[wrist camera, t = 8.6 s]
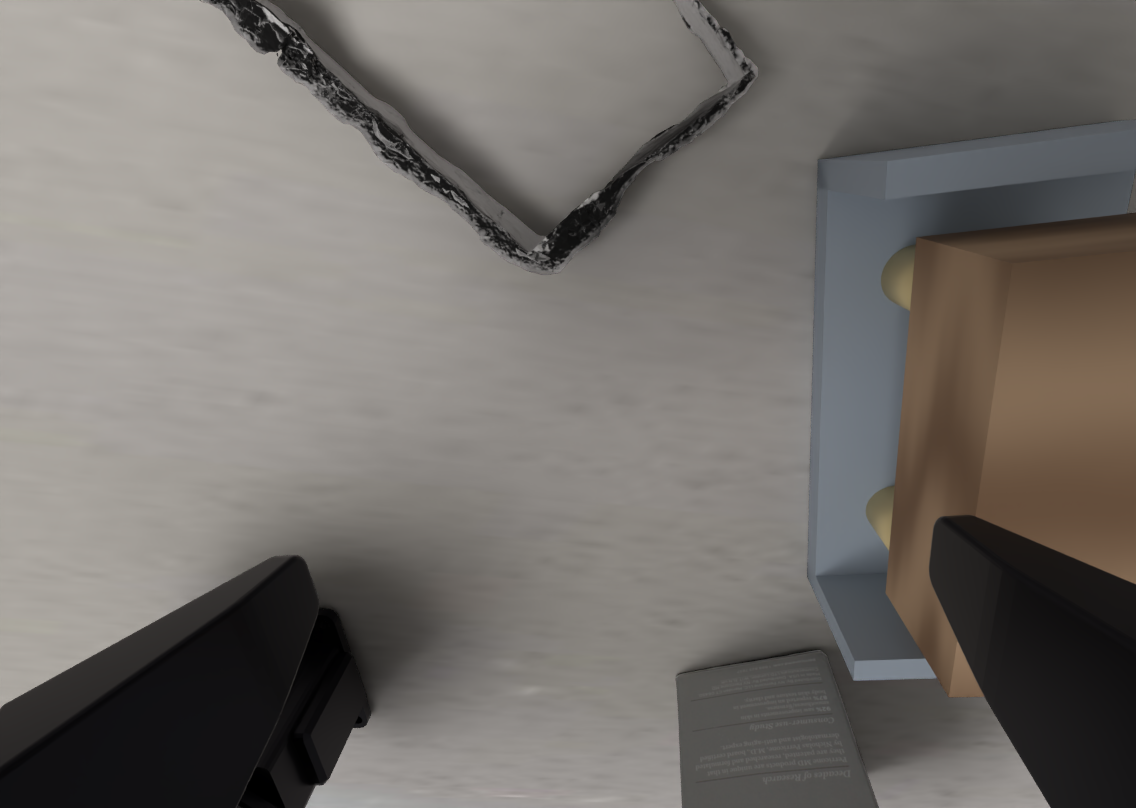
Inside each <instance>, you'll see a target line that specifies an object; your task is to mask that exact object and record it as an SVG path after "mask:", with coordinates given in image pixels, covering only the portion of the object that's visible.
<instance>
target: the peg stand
mask: <svg viewBox="0 0 1136 808" xmlns="http://www.w3.org/2000/svg"><path fill="white" fill-rule="evenodd" d="M1135 172H1136V120H1123V121H1113V122H1105V123H1097V124H1089V125H1082V126H1074V127H1066V128H1059V129H1051V130H1043V131H1036V132H1028V133H1020V134H1012V135H1005V136H997V137H989V138H982V139H974V140H966V141H958V142H951V143H943V144H935V145H928V146H920V147H912V148H905V149H897V150H889V151H881V152H874V153H866V154H858V155H851V156H843V157H835V158H828V159H820V160H818V178H817V217H816V256H815V295H814V334H813V373H812V412H811V451H810V490H809V529H808V568H807V577H808V579H809V582H810V584H811V586H812V588H813V591H814V593H815V595H816V597H817V600H818V602H819V604H820V606H821V609H822V611H823V613H824V615H825V618H826V620H827V622H828V624H829V627H830V629H831V631H832V633H833V636H834V638H835V640H836V642H837V645H838V647H839V649H840V651H841V654H842V656H843V658H844V660H845V663H846V665H847V667H848V669H849V672H850V674H851V676H852V678H853V681H862V680H896V679H931V678H937V677H936V675H935V674H934V672H933V670H932V669H931V667H930V665H929V664H928V662H927V660H926V659H925V657H924V656H923V654H922V652H921V651H920V649H919V647H918V646H917V644H916V642H915V641H914V639H913V637H912V636H911V634H910V632H909V631H908V629H907V628H906V626H905V624H904V623H903V621H902V619H901V618H900V616H899V614H898V613H897V611H896V609H895V608H894V606H893V604H892V603H891V601H890V599H889V598H888V596H887V595H886V593H885V592H886V581H887V569H888V558H889V546H890V535H891V523H892V512H893V500H894V489H895V477H896V466H897V454H898V443H899V431H900V420H901V408H902V397H903V385H904V374H905V362H906V351H907V339H908V328H909V316H910V305H911V293H912V282H913V270H914V259H915V247H916V237H922V236H931V235H940V234H949V233H958V232H967V231H976V230H985V229H994V228H1003V227H1012V226H1021V225H1030V224H1039V223H1047V222H1056V221H1065V220H1074V219H1083V218H1092V217H1101V216H1110V215H1119V214H1127V210H1128V205H1129V200H1130V196H1131V191H1132V186H1133V181H1134V176H1135Z"/></svg>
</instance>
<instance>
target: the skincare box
mask: <svg viewBox="0 0 1136 808" xmlns="http://www.w3.org/2000/svg"><path fill="white" fill-rule="evenodd" d="M676 685H677V700H678V720H679V744H680V770H681V795H682V808H879V806H878V804H877V801H876V798H875V795H874V792H873V789H872V787H871V784H870V781H869V778H868V775H867V772H866V769H865V766H864V763H863V760H862V757H861V754H860V751H859V748H858V745H857V742H856V739H855V736H854V733H853V730H852V727H851V724H850V721H849V718H848V715H847V712H846V709H845V707H844V704H843V701H842V698H841V695H840V692H839V689H838V686H837V683H836V681H835V678H834V675H833V672H832V669H831V666H830V663H829V660H828V657H827V655H825V654H824V653H823V652H822V651H821V650H815V651H809V652H804V653H798V654H792V655H787V656H782V657H776V658H770V659H765V660H759V661H753V662H746V663H740V664H734V665H728V666H722V667H715V668H710V669H704V670H699V671H694V672H689V673H684V674H679V675H678V676H676Z"/></svg>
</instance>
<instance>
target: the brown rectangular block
mask: <svg viewBox="0 0 1136 808" xmlns="http://www.w3.org/2000/svg"><path fill="white" fill-rule="evenodd" d="M953 515H973V516H976V517H978V518H981V519H983V520H986V521H988V522H990V523H993V524H995V525H997V526H1000V527H1002V528H1004V529H1007V530H1009V531H1012V532H1014V533H1016V534H1019V535H1021V536H1023V537H1026V538H1028V539H1030V540H1033V541H1035V542H1037V543H1040V544H1042V545H1045V546H1047V547H1049V548H1052V549H1054V550H1056V551H1059V552H1061V553H1063V554H1066V555H1068V556H1070V557H1073V558H1075V559H1078V560H1080V561H1082V562H1085V563H1087V564H1089V565H1092V566H1094V567H1096V568H1099V569H1101V570H1103V571H1106V572H1108V573H1111V574H1113V575H1115V576H1118V577H1120V578H1122V579H1125V580H1127V581H1129V582H1132V583H1134V584H1136V213H1128V214H1119V215H1110V216H1101V217H1092V218H1083V219H1074V220H1065V221H1056V222H1047V223H1039V224H1030V225H1021V226H1012V227H1003V228H994V229H985V230H976V231H967V232H958V233H949V234H940V235H931V236H922V237H916V247H915V259H914V270H913V282H912V293H911V305H910V316H909V328H908V339H907V351H906V362H905V374H904V385H903V397H902V408H901V420H900V431H899V443H898V454H897V466H896V477H895V489H894V500H893V512H892V523H891V535H890V546H889V558H888V569H887V581H886V592H885V593H886V595H887V596H888V598H889V599H890V601H891V603H892V604H893V606H894V608H895V609H896V611H897V613H898V614H899V616H900V618H901V619H902V621H903V623H904V624H905V626H906V628H907V629H908V631H909V632H910V634H911V636H912V637H913V639H914V641H915V642H916V644H917V646H918V647H919V649H920V651H921V652H922V654H923V656H924V657H925V659H926V660H927V662H928V664H929V665H930V667H931V669H932V670H933V672H934V674H935V675H936V677H937V679H938V680H939V682H940V684H941V685H942V687H943V689H944V690H945V692H946V693H947V695H948V697H984V695H983V693H982V691H981V689H980V687H979V685H978V683H977V681H976V679H975V677H974V675H973V673H972V671H971V669H970V667H969V665H968V662H967V660H966V658H965V656H964V654H963V652H962V649H961V647H960V645H959V643H958V641H957V639H956V636H955V634H954V632H953V630H952V628H951V626H950V624H949V621H948V619H947V617H946V615H945V613H944V611H943V608H942V606H941V604H940V602H939V600H938V598H937V596H936V593H935V591H934V589H933V587H932V584H931V581H930V577H929V560H930V551H931V542H932V534H933V527H934V523H935V521H936V520H937V519H938V518H939V517H941V516H953Z"/></svg>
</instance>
